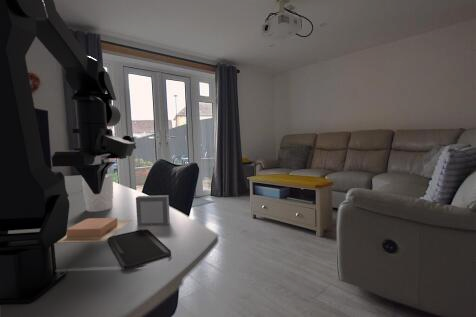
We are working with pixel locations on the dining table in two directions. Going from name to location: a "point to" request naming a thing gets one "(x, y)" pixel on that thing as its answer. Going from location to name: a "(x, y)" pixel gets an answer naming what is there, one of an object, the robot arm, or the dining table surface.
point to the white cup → (99, 195)
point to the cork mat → (96, 238)
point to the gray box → (152, 210)
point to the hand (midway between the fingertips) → (97, 193)
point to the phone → (137, 248)
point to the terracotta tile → (92, 227)
